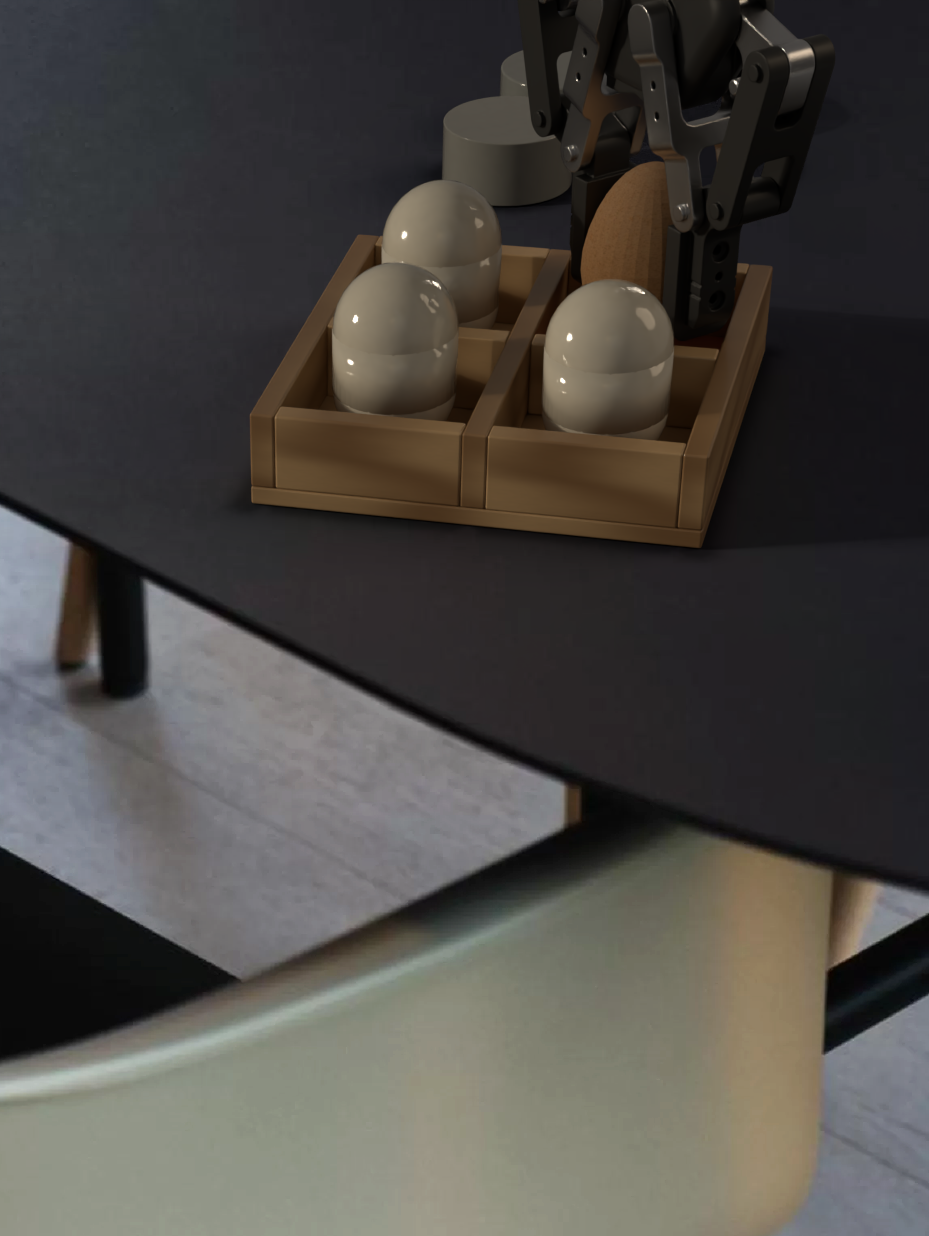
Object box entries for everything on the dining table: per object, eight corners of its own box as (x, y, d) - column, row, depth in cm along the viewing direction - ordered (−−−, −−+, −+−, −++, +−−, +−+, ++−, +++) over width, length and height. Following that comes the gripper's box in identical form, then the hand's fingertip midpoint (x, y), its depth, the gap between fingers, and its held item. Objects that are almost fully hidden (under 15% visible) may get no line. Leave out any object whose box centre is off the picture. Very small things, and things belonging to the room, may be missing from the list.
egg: (629, 303, 100) (640, 127, 96) (739, 336, 97) (754, 157, 93) (549, 347, 97) (557, 169, 93) (659, 382, 95) (672, 201, 91)
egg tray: (764, 351, 100) (773, 265, 98) (701, 549, 90) (709, 456, 88) (357, 318, 104) (357, 233, 102) (251, 504, 93) (249, 413, 91)
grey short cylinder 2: (560, 153, 115) (563, 91, 113) (581, 202, 111) (585, 139, 109) (433, 161, 115) (435, 100, 113) (451, 210, 111) (452, 148, 109)
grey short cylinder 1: (650, 123, 117) (654, 62, 115) (568, 159, 114) (571, 98, 112) (554, 94, 119) (557, 34, 118) (472, 128, 117) (474, 68, 115)
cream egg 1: (508, 336, 101) (515, 165, 97) (484, 386, 98) (490, 212, 94) (395, 327, 102) (397, 157, 98) (368, 376, 99) (369, 203, 95)
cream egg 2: (467, 423, 96) (472, 246, 92) (440, 478, 93) (445, 298, 89) (348, 412, 97) (349, 237, 93) (319, 466, 94) (318, 288, 90)
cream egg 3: (673, 442, 94) (688, 262, 90) (653, 499, 91) (667, 316, 87) (551, 430, 95) (560, 253, 91) (527, 486, 92) (535, 305, 88)
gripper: (945, -223, 82) (876, 354, 93) (645, -322, 91) (615, 211, 103) (727, -174, 79) (683, 413, 90) (443, -281, 89) (434, 260, 100)
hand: (647, 302), depth 96 cm, fingers closed on egg, 4 cm apart
